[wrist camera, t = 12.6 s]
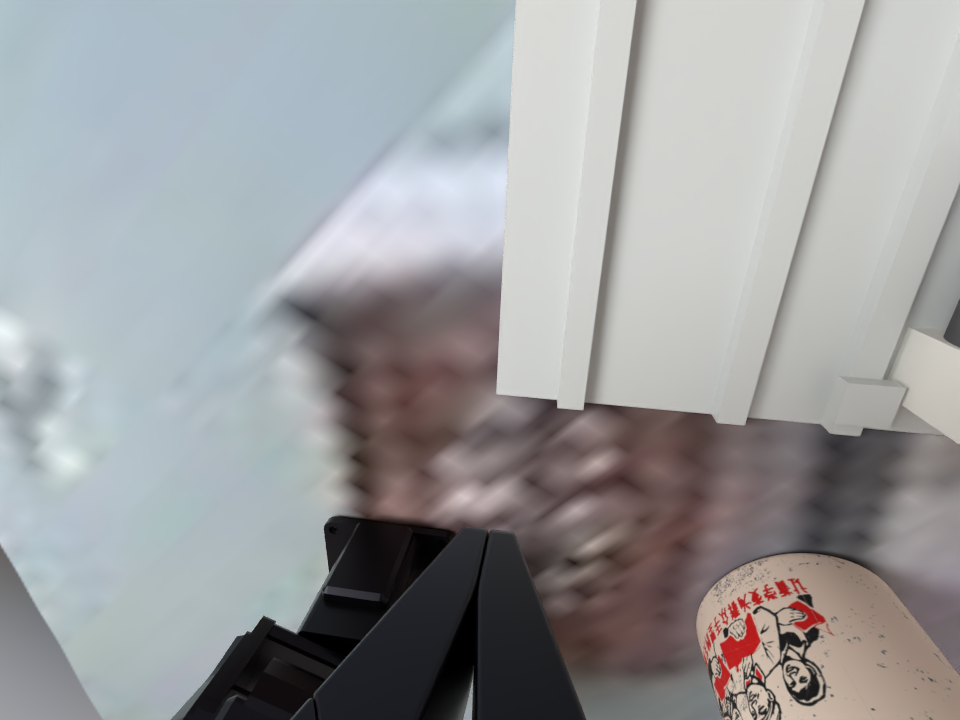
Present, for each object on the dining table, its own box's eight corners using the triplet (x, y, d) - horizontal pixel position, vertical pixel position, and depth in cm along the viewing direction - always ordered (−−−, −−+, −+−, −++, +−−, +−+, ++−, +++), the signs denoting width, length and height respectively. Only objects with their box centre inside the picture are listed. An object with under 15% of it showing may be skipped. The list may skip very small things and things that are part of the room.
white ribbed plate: (1093, 444, 17) (1211, 505, 14) (497, 389, 20) (487, 431, 17) (1414, -74, 12) (1727, -160, 9) (520, -55, 14) (510, -116, 11)
